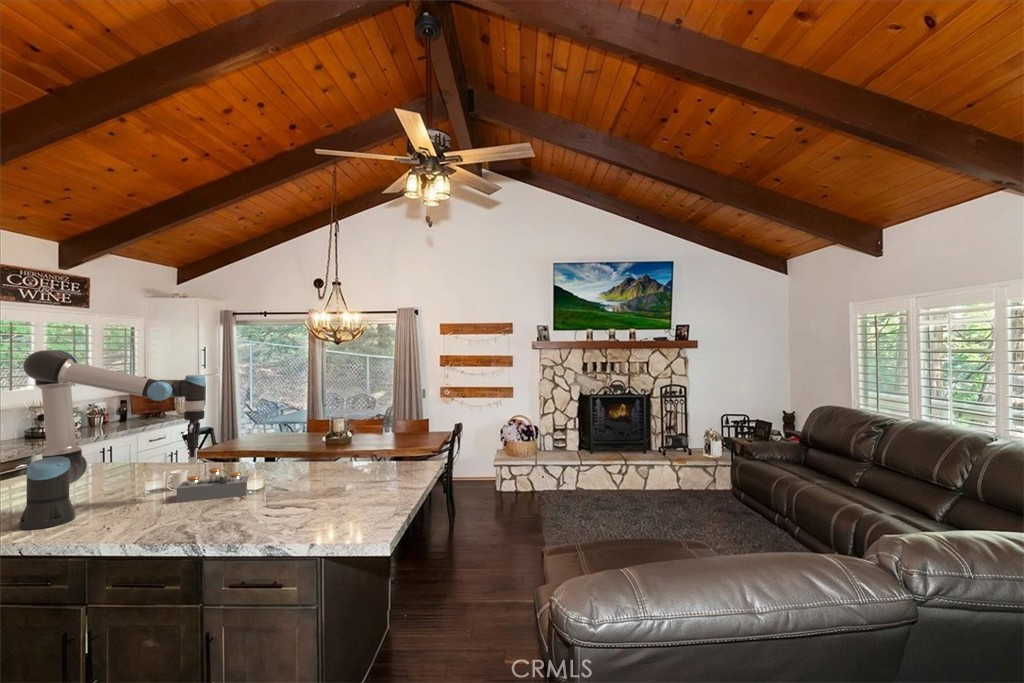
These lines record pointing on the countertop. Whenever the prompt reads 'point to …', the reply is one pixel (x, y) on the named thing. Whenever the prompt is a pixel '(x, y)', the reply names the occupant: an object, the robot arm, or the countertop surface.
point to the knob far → (235, 476)
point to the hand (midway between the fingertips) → (192, 464)
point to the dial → (223, 479)
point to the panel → (211, 490)
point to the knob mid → (214, 475)
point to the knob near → (193, 480)
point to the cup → (177, 478)
